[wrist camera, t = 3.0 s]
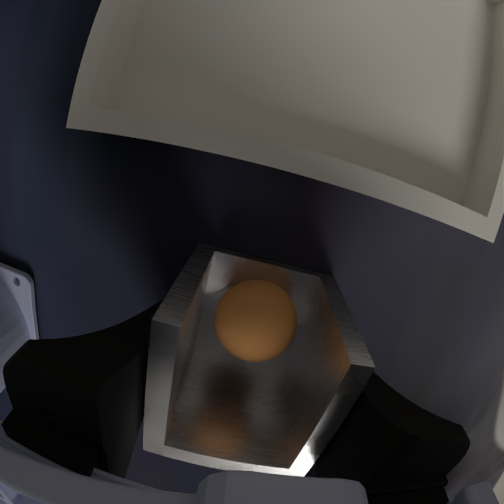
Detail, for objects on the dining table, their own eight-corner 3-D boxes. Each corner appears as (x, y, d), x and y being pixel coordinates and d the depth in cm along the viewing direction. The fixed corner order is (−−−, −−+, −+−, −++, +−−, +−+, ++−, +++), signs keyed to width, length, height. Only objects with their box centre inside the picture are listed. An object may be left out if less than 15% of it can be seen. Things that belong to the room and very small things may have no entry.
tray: (99, 128, 11) (66, 127, 9) (180, -93, 8) (168, -122, 5) (461, 226, 12) (493, 243, 10) (499, 6, 8) (527, -6, 6)
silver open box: (179, 352, 15) (143, 449, 9) (199, 242, 13) (151, 319, 7) (292, 377, 15) (301, 479, 9) (333, 275, 13) (375, 367, 7)
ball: (204, 360, 12) (207, 335, 9) (220, 293, 14) (228, 254, 11) (279, 376, 12) (303, 356, 10) (289, 309, 14) (312, 275, 11)
